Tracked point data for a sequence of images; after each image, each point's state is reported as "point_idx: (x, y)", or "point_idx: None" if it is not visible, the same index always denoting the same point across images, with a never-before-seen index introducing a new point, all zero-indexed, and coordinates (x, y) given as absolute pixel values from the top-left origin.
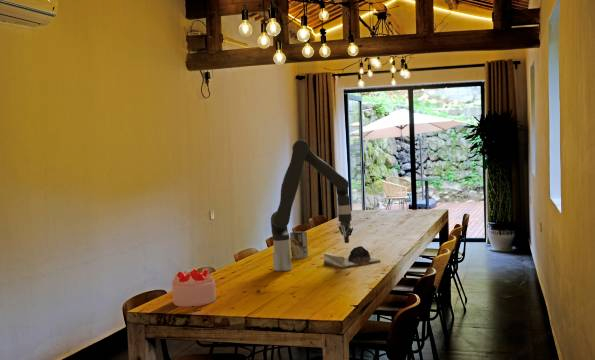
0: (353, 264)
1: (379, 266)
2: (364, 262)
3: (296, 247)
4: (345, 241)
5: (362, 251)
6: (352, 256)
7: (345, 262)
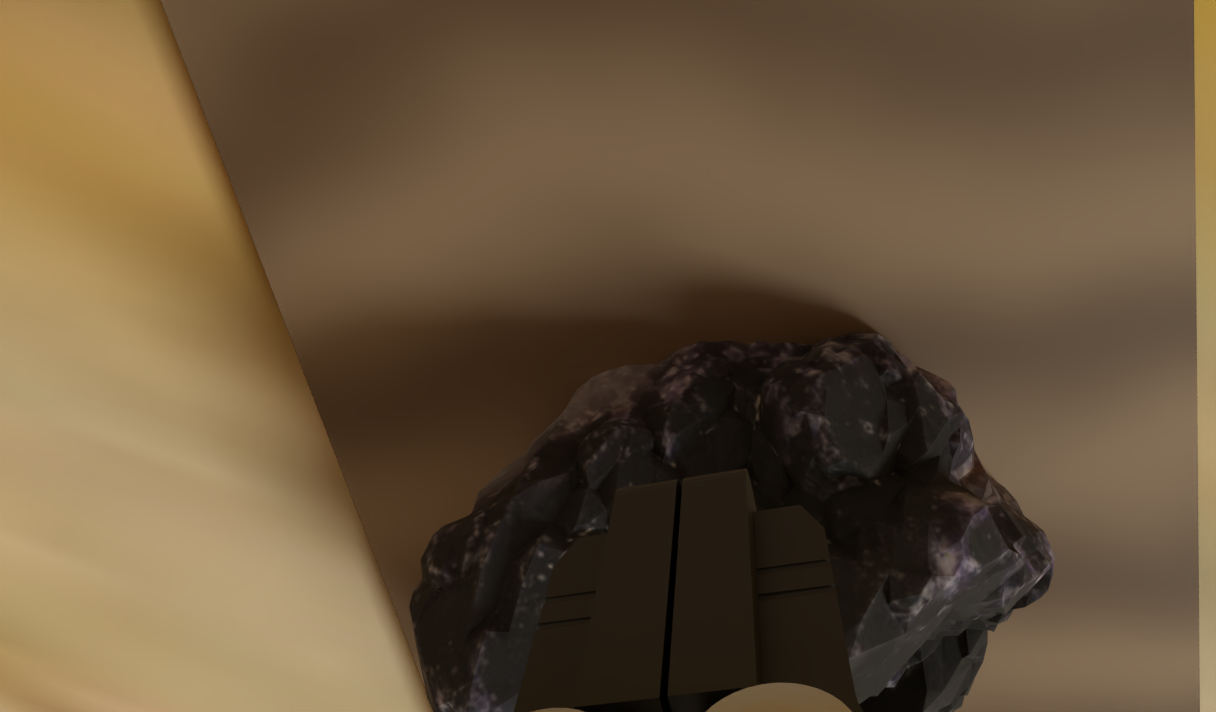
0: (280, 243)
1: (100, 621)
2: (392, 517)
3: None
4: (635, 516)
5: (428, 693)
6: (661, 422)
7: (642, 165)
